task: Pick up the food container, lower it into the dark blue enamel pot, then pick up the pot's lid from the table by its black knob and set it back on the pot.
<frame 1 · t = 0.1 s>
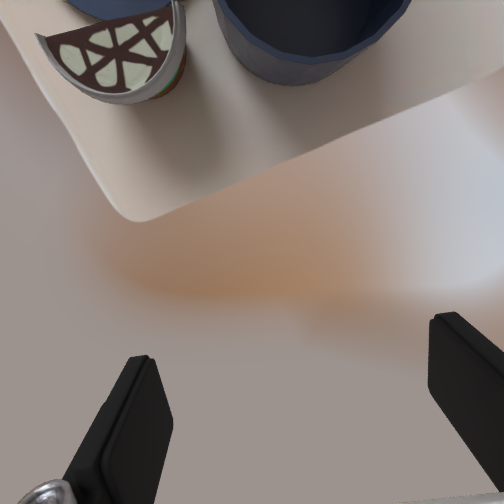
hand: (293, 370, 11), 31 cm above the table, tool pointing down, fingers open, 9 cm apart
food container: (151, 80, 36), on the table
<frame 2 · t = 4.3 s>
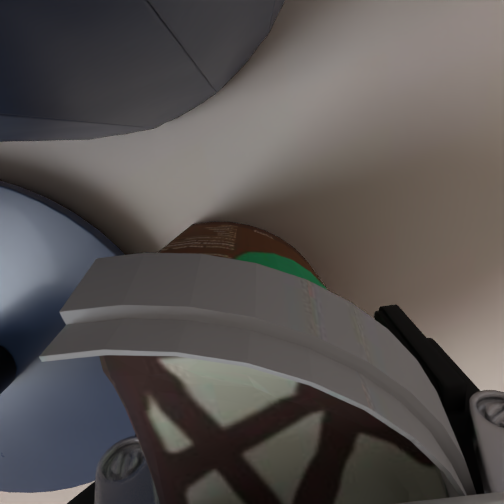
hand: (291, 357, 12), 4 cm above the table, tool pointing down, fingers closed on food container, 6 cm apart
food container: (283, 305, 15), on the table, touching gripper
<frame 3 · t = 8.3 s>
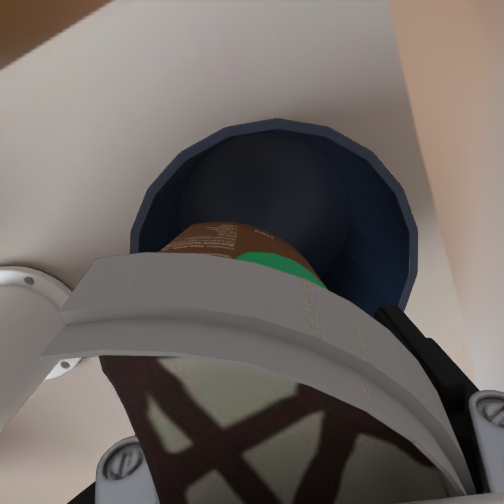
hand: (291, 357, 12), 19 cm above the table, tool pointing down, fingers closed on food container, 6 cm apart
pot: (264, 221, 30), on the table
food container: (283, 305, 15), point 15 cm above the table, touching gripper
when the fingers open (4 cm above the table, at t = 12.4 s): food container stays where it is, resting on pot.
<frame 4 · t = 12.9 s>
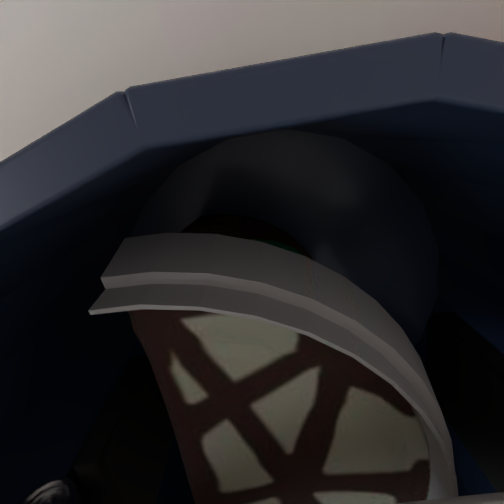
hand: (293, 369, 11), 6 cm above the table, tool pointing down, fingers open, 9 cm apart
pot: (279, 291, 17), on the table
food container: (284, 293, 16), resting on pot
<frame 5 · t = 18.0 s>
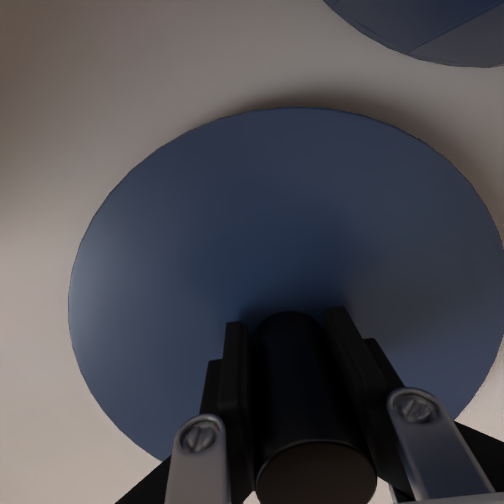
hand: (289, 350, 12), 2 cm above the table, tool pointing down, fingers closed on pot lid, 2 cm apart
pot lid: (286, 333, 13), point 1 cm above the table, touching gripper
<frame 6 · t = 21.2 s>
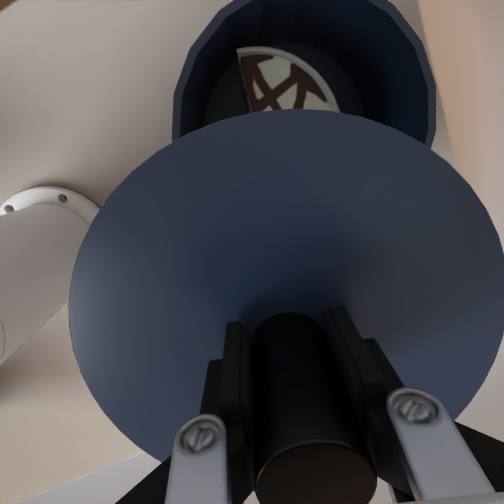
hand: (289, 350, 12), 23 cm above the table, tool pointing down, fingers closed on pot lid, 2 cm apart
pot: (283, 135, 32), on the table
food container: (285, 134, 31), resting on pot
pot lid: (286, 334, 13), point 22 cm above the table, touching gripper
when the fingers open (13 cm above the table, at t = 24.5 s): pot lid stays where it is, resting on pot.
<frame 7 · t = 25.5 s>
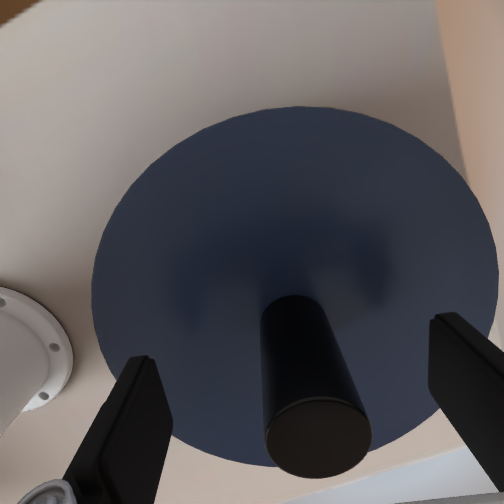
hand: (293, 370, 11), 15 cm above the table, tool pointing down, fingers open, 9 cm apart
pot lid: (291, 316, 14), point 12 cm above the table, touching pot
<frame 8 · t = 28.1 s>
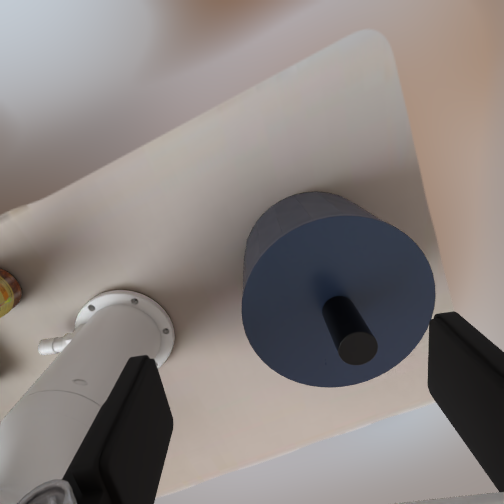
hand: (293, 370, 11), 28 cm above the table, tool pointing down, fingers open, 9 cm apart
pot: (310, 258, 40), on the table
pot lid: (336, 306, 29), point 12 cm above the table, touching pot
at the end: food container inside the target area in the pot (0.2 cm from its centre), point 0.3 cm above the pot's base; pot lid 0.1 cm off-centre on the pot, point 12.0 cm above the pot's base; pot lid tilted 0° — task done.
